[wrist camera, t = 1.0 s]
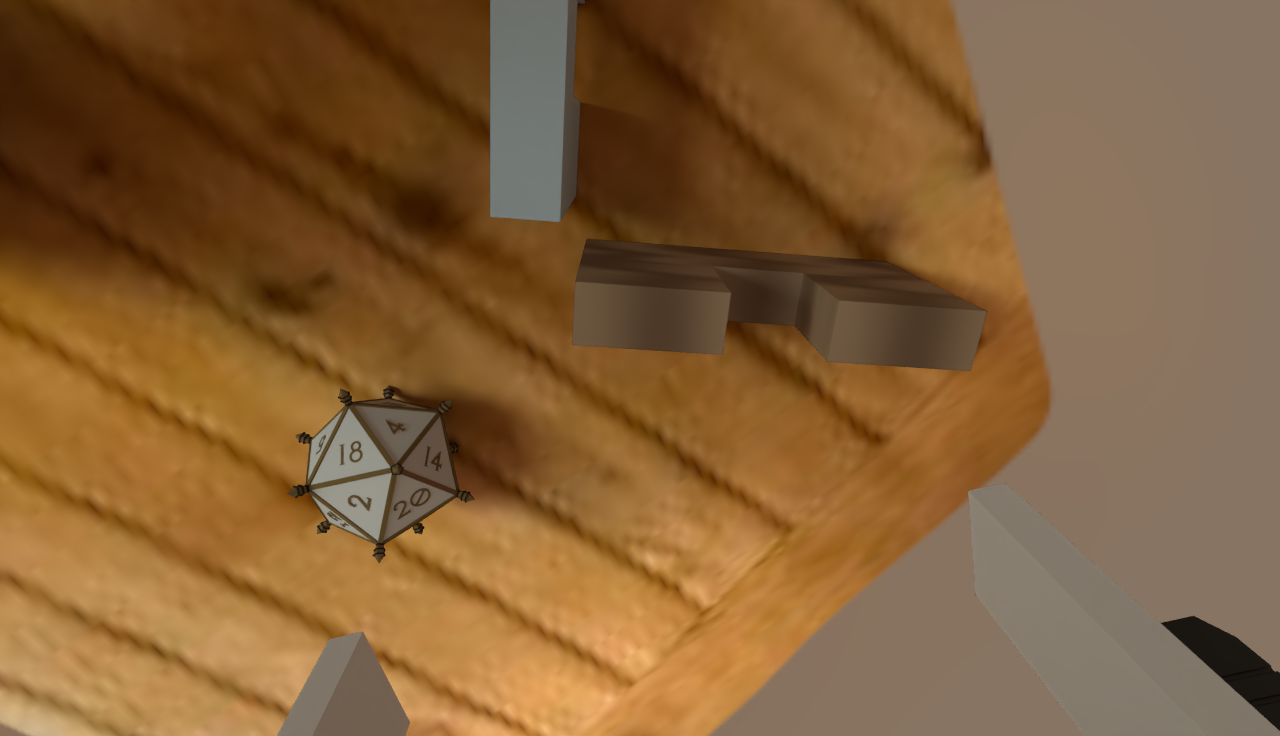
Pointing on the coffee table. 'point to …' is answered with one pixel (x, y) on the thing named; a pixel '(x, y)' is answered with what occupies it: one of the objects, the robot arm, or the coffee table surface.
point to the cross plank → (533, 108)
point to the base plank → (769, 304)
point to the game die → (380, 468)
